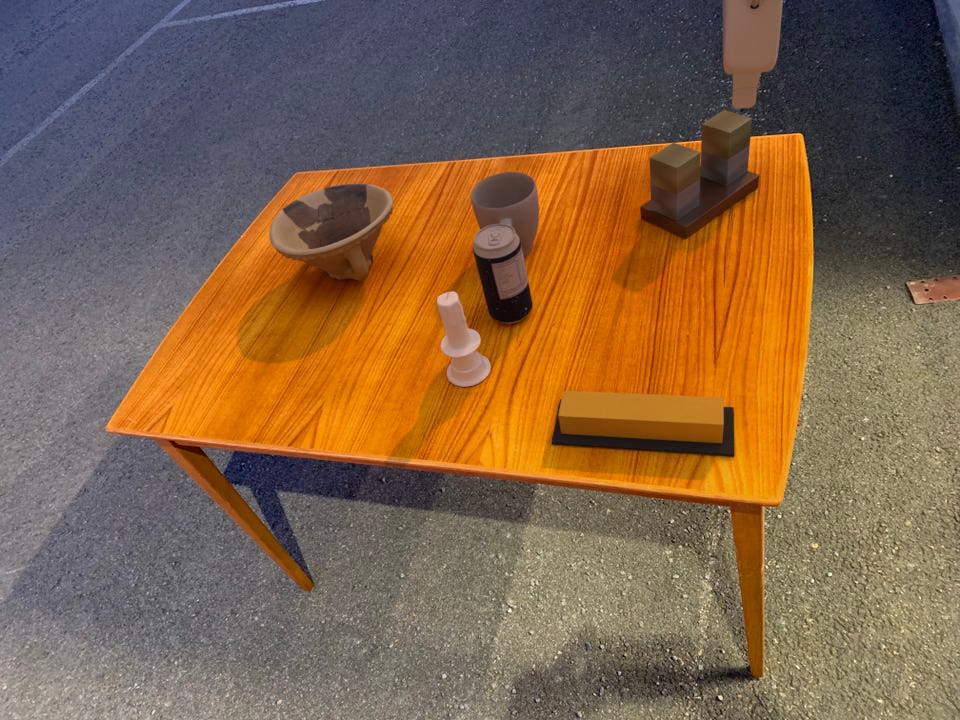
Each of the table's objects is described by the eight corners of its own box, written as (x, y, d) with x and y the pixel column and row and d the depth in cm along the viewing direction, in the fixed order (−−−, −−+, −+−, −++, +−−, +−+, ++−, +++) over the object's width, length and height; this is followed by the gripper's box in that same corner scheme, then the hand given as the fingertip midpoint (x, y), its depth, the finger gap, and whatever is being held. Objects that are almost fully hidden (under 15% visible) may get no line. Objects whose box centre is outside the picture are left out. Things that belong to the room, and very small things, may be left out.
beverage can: (534, 296, 90) (520, 219, 82) (532, 326, 86) (517, 248, 78) (491, 299, 91) (473, 224, 83) (487, 329, 87) (468, 253, 79)
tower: (758, 187, 97) (765, 120, 90) (685, 239, 92) (686, 173, 85) (711, 170, 102) (714, 105, 95) (640, 218, 97) (637, 154, 90)
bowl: (428, 268, 99) (410, 211, 92) (311, 323, 95) (284, 268, 89) (384, 216, 111) (366, 162, 104) (279, 262, 107) (254, 210, 101)
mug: (484, 234, 102) (471, 177, 95) (544, 225, 101) (534, 166, 94) (482, 286, 94) (468, 227, 87) (548, 277, 92) (538, 217, 85)
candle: (466, 349, 86) (443, 273, 77) (499, 364, 83) (480, 287, 74) (438, 377, 83) (411, 302, 75) (471, 393, 80) (448, 317, 72)
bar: (722, 443, 68) (723, 424, 66) (561, 434, 73) (558, 415, 71) (722, 416, 71) (723, 396, 69) (566, 408, 75) (563, 390, 73)
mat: (733, 409, 71) (733, 406, 71) (734, 456, 67) (734, 454, 67) (560, 401, 77) (559, 398, 76) (551, 444, 73) (551, 442, 73)
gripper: (816, -70, 42) (789, 137, 52) (793, -151, 56) (775, 26, 65) (707, -55, 44) (701, 142, 54) (710, -136, 58) (705, 33, 67)
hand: (742, 78), depth 60 cm, fingers open, 8 cm apart
